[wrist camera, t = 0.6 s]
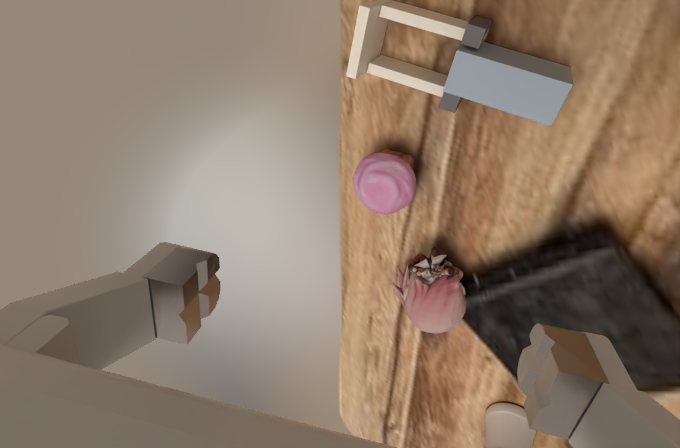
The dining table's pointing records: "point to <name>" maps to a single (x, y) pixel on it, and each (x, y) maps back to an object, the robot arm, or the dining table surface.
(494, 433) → the vodka
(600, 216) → the dining table surface
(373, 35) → the frame
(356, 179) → the cupcake
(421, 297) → the toy
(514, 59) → the grey rectangular box
